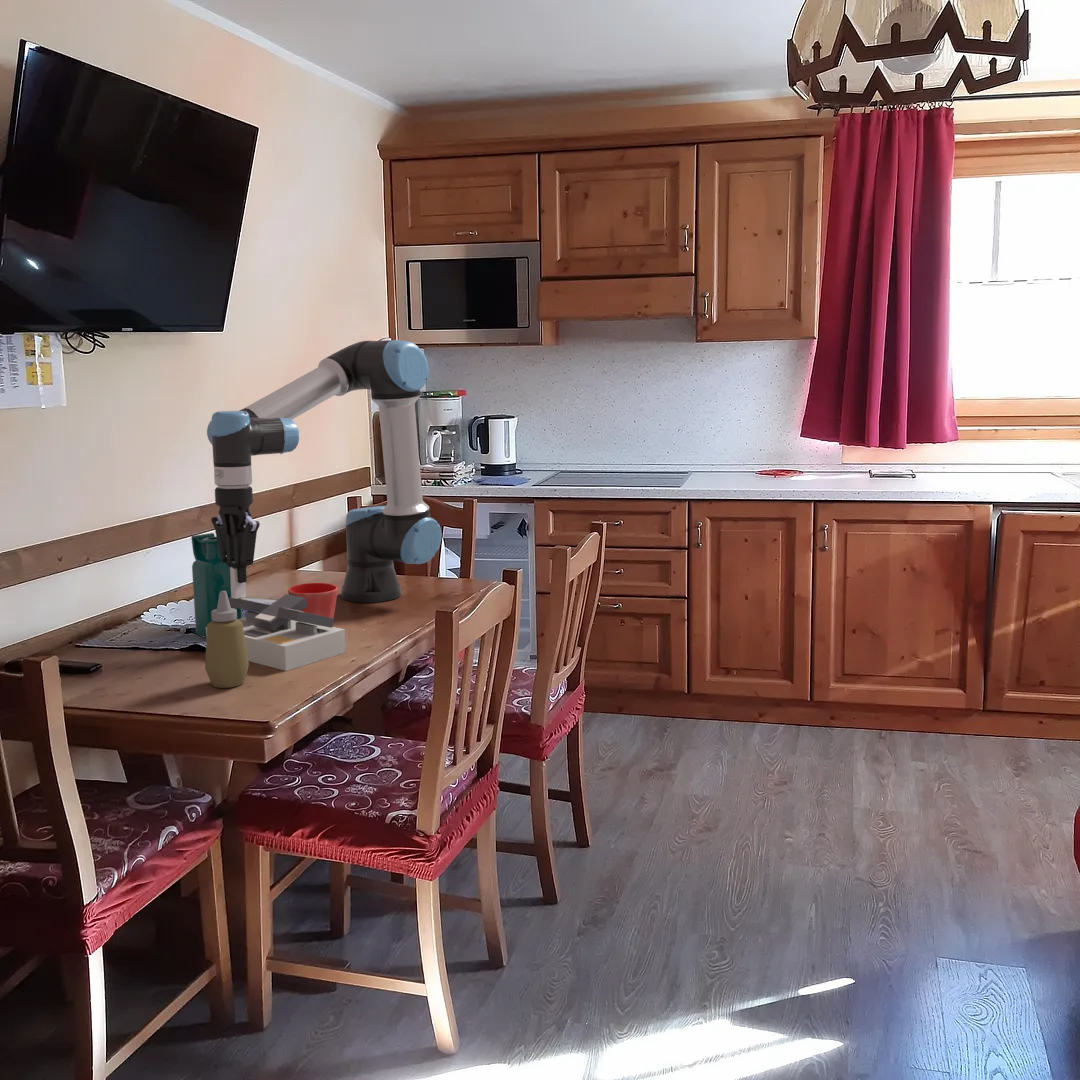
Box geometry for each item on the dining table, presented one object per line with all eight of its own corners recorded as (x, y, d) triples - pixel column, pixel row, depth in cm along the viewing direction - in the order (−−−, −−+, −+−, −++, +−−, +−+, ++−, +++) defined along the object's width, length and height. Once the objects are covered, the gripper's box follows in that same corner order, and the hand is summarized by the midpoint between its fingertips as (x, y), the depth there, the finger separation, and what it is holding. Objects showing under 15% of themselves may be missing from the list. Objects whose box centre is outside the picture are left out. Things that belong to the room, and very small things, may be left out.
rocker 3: (312, 623, 224) (314, 613, 224) (332, 627, 220) (334, 617, 220) (276, 616, 216) (279, 606, 216) (296, 621, 212) (299, 610, 212)
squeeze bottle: (211, 678, 205) (205, 587, 202) (253, 677, 206) (249, 586, 202) (201, 691, 197) (195, 597, 194) (245, 690, 198) (240, 596, 194)
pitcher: (246, 633, 237) (241, 536, 233) (212, 641, 231) (206, 541, 227) (223, 625, 244) (218, 531, 240) (189, 633, 238) (183, 536, 234)
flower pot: (328, 636, 234) (326, 594, 233) (282, 634, 237) (280, 591, 235) (346, 624, 245) (344, 583, 243) (301, 622, 247) (300, 581, 245)
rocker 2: (288, 601, 228) (285, 593, 227) (307, 605, 225) (304, 597, 224) (254, 626, 221) (251, 617, 221) (273, 630, 218) (270, 622, 217)
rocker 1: (262, 612, 233) (265, 603, 233) (281, 616, 230) (283, 607, 230) (226, 605, 225) (229, 596, 225) (245, 609, 221) (247, 599, 222)
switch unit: (267, 634, 237) (265, 604, 235) (345, 652, 222) (344, 621, 221) (207, 650, 224) (205, 619, 223) (286, 671, 209) (284, 637, 208)
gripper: (198, 485, 220) (204, 596, 224) (238, 490, 213) (244, 604, 217) (228, 482, 226) (233, 590, 230) (268, 486, 219) (273, 598, 223)
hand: (238, 597), depth 224 cm, fingers closed
